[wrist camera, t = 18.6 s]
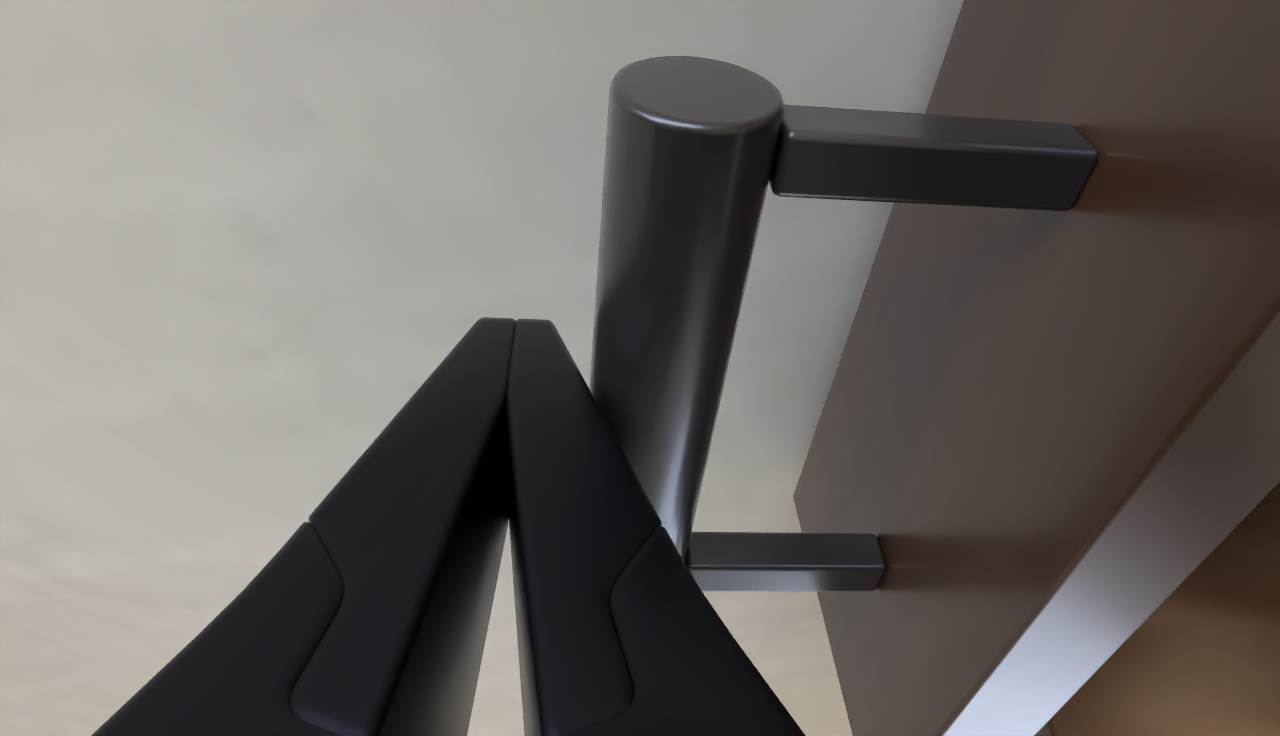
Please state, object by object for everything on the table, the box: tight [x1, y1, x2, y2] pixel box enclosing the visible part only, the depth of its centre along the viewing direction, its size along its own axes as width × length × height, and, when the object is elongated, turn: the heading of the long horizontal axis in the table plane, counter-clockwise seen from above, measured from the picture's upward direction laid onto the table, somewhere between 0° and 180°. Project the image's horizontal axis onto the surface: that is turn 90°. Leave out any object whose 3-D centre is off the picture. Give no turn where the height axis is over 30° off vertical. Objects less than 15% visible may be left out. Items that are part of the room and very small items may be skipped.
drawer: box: [590, 0, 1280, 736], centre depth 10 cm, size 16×11×6 cm
